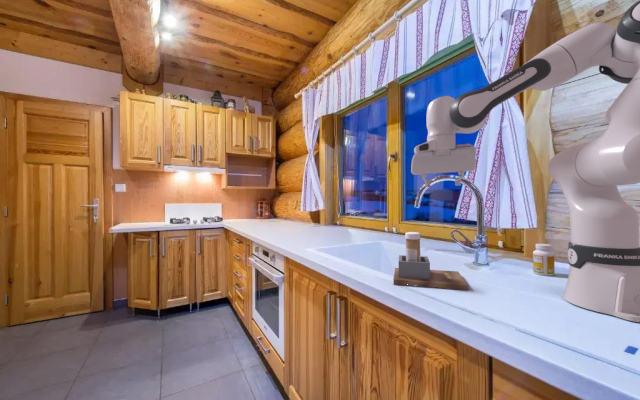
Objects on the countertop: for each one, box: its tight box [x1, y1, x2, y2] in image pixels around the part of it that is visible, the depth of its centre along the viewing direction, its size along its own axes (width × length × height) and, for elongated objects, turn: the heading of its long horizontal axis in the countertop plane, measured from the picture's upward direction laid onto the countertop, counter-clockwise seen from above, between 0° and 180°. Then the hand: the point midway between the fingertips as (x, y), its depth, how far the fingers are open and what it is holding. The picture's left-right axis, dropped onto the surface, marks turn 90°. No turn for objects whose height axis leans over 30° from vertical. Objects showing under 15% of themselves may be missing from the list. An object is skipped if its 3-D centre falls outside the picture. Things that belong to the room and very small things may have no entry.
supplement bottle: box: [532, 243, 555, 277], centre depth 88 cm, size 5×5×10 cm
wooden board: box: [393, 267, 469, 291], centre depth 84 cm, size 20×14×2 cm
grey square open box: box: [398, 254, 431, 280], centre depth 85 cm, size 9×9×5 cm
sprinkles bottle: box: [404, 231, 421, 262], centre depth 85 cm, size 5×5×14 cm
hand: (442, 186), depth 91 cm, fingers open, 8 cm apart
